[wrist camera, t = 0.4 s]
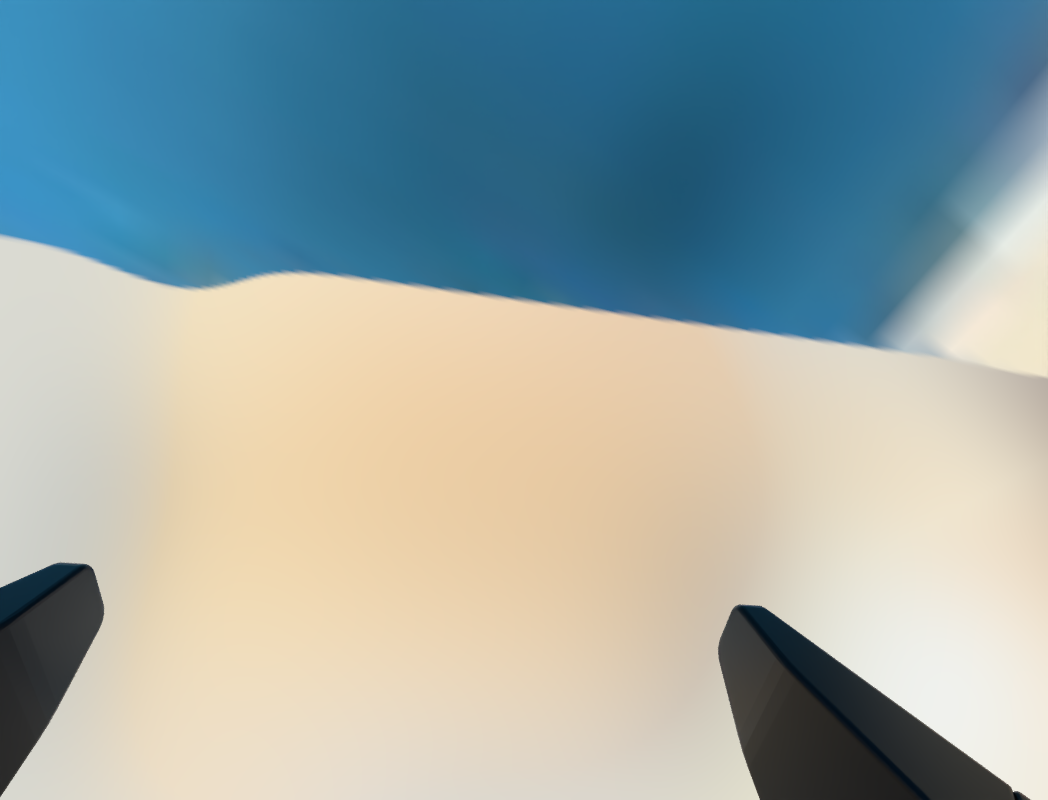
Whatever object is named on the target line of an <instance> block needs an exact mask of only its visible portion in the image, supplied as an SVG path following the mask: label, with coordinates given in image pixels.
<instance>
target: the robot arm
mask: <svg viewBox="0 0 1048 800" xmlns="http://www.w3.org/2000/svg"><path fill="white" fill-rule="evenodd" d="M103 616H104V604H103V601H102V597H101V594H100V591H99V587H98V583H97V580H96V576H95V573H94V570H93V569H92V568H91V567H90V566H89V565H87V564H77V563H56V564H53V565H51V566H48V567H46V568H44V569H42V570H39V571H37V572H35V573H33V574H30V575H28V576H26V577H24V578H21V579H19V580H17V581H15V582H12V583H10V584H8V585H6V586H3V587H1V588H0V797H1V795H2V794H3V792H4V791H5V789H6V788H7V786H8V785H9V783H10V781H11V780H12V779H13V777H14V776H15V774H16V773H17V771H18V770H19V768H20V767H21V765H22V764H23V762H24V761H25V759H26V758H27V756H28V755H29V753H30V752H31V750H32V749H33V747H34V746H35V744H36V743H37V741H38V740H39V738H40V737H41V735H42V733H43V732H44V730H45V729H46V727H47V726H48V724H49V722H50V720H51V719H52V717H53V715H54V713H55V712H56V710H57V708H58V706H59V704H60V702H61V701H62V699H63V697H64V695H65V693H66V691H67V689H68V687H69V685H70V684H71V682H72V680H73V678H74V676H75V674H76V672H77V670H78V668H79V666H80V664H81V663H82V661H83V658H84V657H85V655H86V653H87V651H88V649H89V647H90V646H91V644H92V642H93V640H94V638H95V636H96V634H97V632H98V630H99V628H100V626H101V623H102V621H103ZM718 655H719V662H720V666H721V670H722V674H723V678H724V682H725V686H726V689H727V693H728V697H729V701H730V705H731V709H732V713H733V717H734V721H735V725H736V729H737V733H738V737H739V740H740V744H741V747H742V751H743V754H744V757H745V760H746V763H747V766H748V769H749V771H750V774H751V777H752V779H753V782H754V785H755V787H756V790H757V793H758V796H759V798H760V800H1030V799H1029V798H1027V797H1026V796H1025V795H1023V794H1022V793H1020V792H1018V791H1015V792H1013V791H1012V789H1011V787H1010V786H1009V785H1008V784H1006V783H1005V782H1004V781H1002V780H1001V779H1000V778H998V777H996V776H995V775H994V774H992V773H991V772H990V771H989V770H987V769H985V768H984V767H983V766H982V765H980V764H979V763H978V762H976V761H975V760H973V759H972V758H971V757H969V756H968V755H967V754H965V753H964V752H962V751H961V750H960V749H958V748H957V747H955V746H954V745H953V744H951V743H950V742H948V741H947V740H946V739H944V738H943V737H942V736H940V735H939V734H938V733H936V732H935V731H934V730H932V729H931V728H929V727H928V726H927V725H925V724H924V723H923V722H921V721H920V720H918V719H917V718H916V717H914V716H913V715H912V714H910V713H909V712H907V711H906V710H905V709H903V708H902V707H901V706H899V705H898V704H896V703H895V702H894V701H892V700H891V699H890V698H888V697H887V696H885V695H884V694H882V693H881V692H880V691H878V690H877V689H876V688H874V687H873V686H872V685H870V684H869V683H868V682H866V681H865V680H863V679H862V678H861V677H859V676H858V675H857V674H855V673H854V672H852V671H851V670H850V669H848V668H847V667H845V666H844V665H843V664H841V663H840V662H838V661H837V660H836V659H835V658H833V657H832V656H830V655H829V654H828V653H826V652H825V651H824V650H822V649H821V648H819V647H818V646H817V645H815V644H814V643H813V642H811V641H810V640H808V639H807V638H806V637H804V636H803V635H802V634H800V633H799V632H797V631H796V630H795V629H793V628H792V627H790V626H789V625H788V624H786V623H785V622H784V621H782V620H781V619H779V618H778V617H777V616H775V615H774V614H773V613H771V612H770V611H768V610H767V609H765V608H764V607H762V606H755V605H754V606H753V605H737V606H735V607H734V608H733V610H732V612H731V614H730V616H729V619H728V621H727V624H726V627H725V629H724V631H723V633H722V636H721V638H720V642H719V647H718Z"/></svg>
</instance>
